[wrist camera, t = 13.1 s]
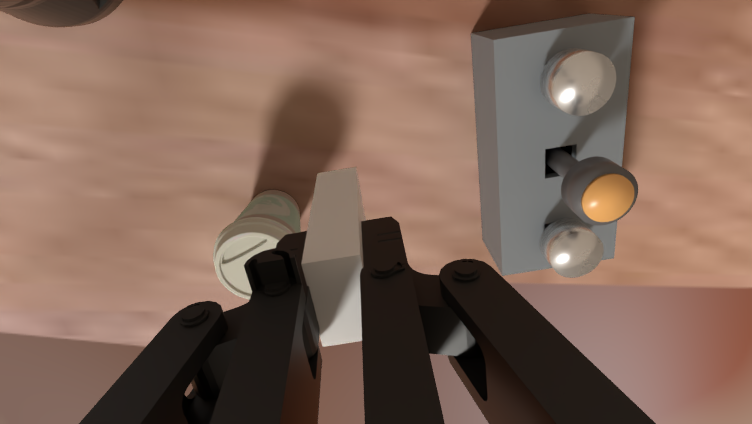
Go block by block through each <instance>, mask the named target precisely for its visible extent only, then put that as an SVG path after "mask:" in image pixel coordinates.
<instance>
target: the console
mask: <svg viewBox="0 0 752 424" xmlns="http://www.w3.org/2000/svg"><path fill="white" fill-rule="evenodd" d="M634 19H635V17H632V16H618V15H604V14H590V13H589V14H583V15H577V16H571V17H565V18H559V19H553V20H547V21H541V22H535V23H529V24H523V25H517V26H511V27H505V28H499V29H493V30H487V31H481V32H475V33H471V45H472V62H473V80H474V97H475V114H476V132H477V149H478V167H479V184H480V202H481V219H482V236H483V241H484V243H485V245H486V247H487V249H488V250H489V252H490V254H491V256H492V258H493V260H494V261H495V263H496V265H497V267H498V269H499V270H500V272H501V274H502V276H504V275H510V274H517V273H523V272H530V271H536V270H542V269H549V268H553V267H552V266H551V265H550V263H549V262H548V261H547V259H546V258H545V257H544V255H543V254H542V252H541V250H540V246H539V242H540V238H541V235H542V233H543V232H544V230H545V224H547V223H553V222H555V221H557V220H560V219H563V218H575V219H578V220H580V221H581V222H583V223H584V224H585V225H586V226H587V227H588V228H589V229H590V230H591V231H592V232H593V233H594V234H595V235H596V236H597V237H598V238H599V239H600V240H601V241H602V244H603V248H604V252H603V257H602V259H601V260H606V259H612V258H614V252H615V241H616V229H617V221H615V222H613V223H611V224H607V225H600V226H599V225H591V224H588V223H586V222H584V221H583V220H582V219H581V218H580V217H579V216H577V215H576V214H575V213H574V212H573V211H572V210H571V209H570V208H569V207H568V206H567V205H566V204H565V202H564V201H563V199H562V195H561V185H562V181H563V179H564V178H562V177H561V176H560V175H559V174H558V173H550V174H545V149H550V148H556V147H562V146H569V145H572V157H574V158H575V159H577V160H578V161H581V160H583V159H586V158H589V157H595V156H598V157H605V158H608V159H610V160H611V161H613V162H615V163H616V164H618V165H619V166H621V167H622V159H623V147H624V136H625V124H626V112H627V101H628V89H629V77H630V66H631V54H632V42H633V31H634ZM569 48H579V49H584V50H588V51H593V52H597V53H600V54H603V55H605V56H606V57H607V58H609V59H610V60H611V62H612V63H613V65H614V67H615V71H616V85H615V88H614V91H613V93H612V95H611V97H610V98H609V100H608V101H607V102H606V104H604V105H603V106H602V107H601V108H600V109H599V110H597V111H595V112H593V113H591V114H588V115H584V116H574V115H570V114H568V113H566V112H564V111H562V110H560V109H558V108H556V107H554V106H553V105H551V104H549V103H548V102H547V101H546V100H545V99H544V97H543V95H542V93H541V89H540V78H541V74H542V71H543V69H544V67H545V65H546V62H548V61H549V60H550V59H551V58H552V57H553V56H554V55H556V54H557V53H559V52H560V51H563V50H565V49H569Z"/></svg>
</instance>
